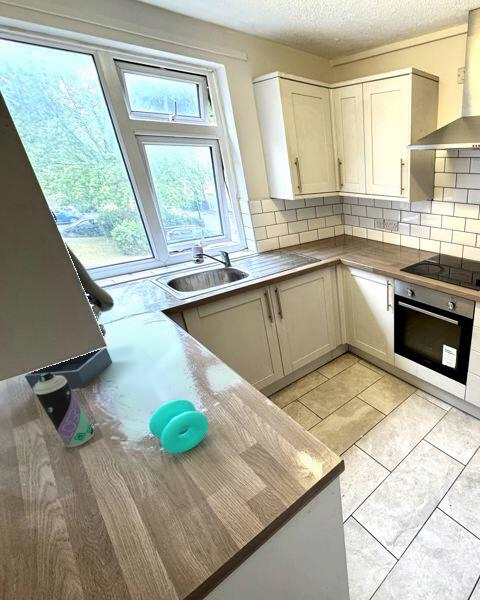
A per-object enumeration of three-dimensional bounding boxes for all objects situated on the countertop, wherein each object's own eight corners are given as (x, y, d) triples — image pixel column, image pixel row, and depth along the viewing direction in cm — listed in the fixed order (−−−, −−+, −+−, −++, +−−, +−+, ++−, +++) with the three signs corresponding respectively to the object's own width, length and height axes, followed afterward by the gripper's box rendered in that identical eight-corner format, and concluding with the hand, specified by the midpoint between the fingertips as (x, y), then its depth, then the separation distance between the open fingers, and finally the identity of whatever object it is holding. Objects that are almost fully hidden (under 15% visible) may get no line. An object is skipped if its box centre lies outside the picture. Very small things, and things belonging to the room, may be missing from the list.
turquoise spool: (170, 464, 76) (158, 432, 72) (154, 443, 81) (141, 412, 77) (214, 437, 83) (205, 406, 79) (196, 419, 89) (187, 390, 84)
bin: (33, 392, 98) (24, 376, 96) (67, 366, 110) (59, 350, 108) (85, 387, 100) (77, 371, 98) (112, 362, 112) (106, 347, 110)
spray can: (66, 451, 79) (26, 384, 71) (64, 439, 82) (26, 374, 74) (96, 438, 82) (61, 373, 74) (92, 426, 86) (59, 363, 78)
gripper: (40, 319, 91) (15, 346, 78) (105, 307, 98) (92, 331, 85) (52, 342, 94) (30, 372, 81) (114, 329, 101) (103, 355, 88)
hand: (62, 351), depth 83 cm, fingers open, 8 cm apart
